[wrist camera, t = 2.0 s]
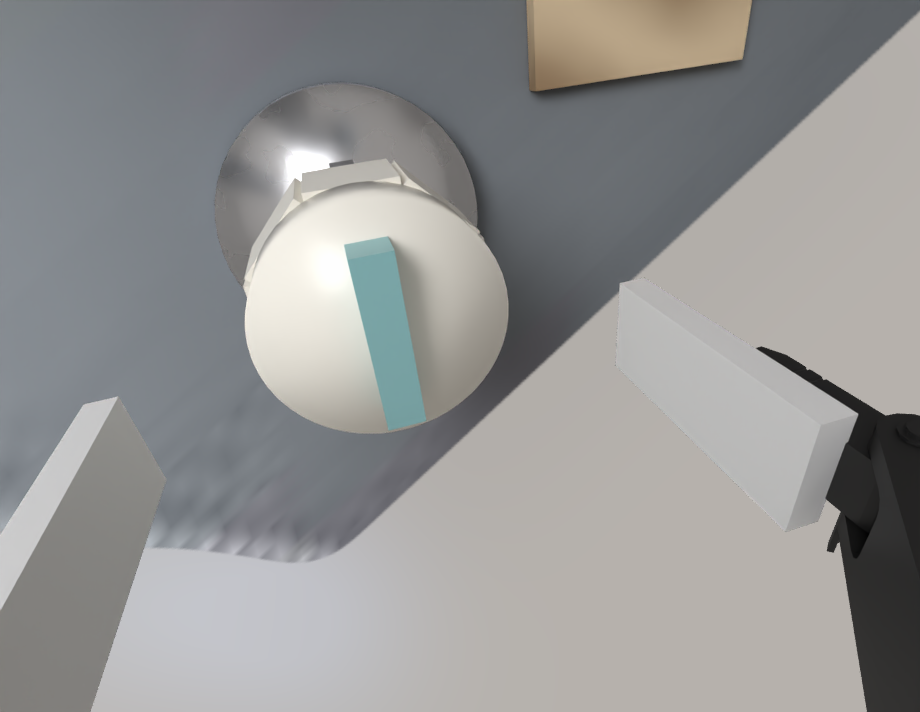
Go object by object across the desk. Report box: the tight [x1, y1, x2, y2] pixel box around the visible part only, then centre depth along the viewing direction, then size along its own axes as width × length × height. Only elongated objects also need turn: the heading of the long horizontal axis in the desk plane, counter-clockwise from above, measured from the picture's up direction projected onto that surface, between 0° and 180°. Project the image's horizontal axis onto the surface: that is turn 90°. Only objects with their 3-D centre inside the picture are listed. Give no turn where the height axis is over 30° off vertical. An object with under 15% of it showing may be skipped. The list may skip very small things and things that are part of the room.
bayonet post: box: [215, 82, 477, 289], centre depth 21 cm, size 12×12×10 cm
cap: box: [243, 158, 509, 434], centre depth 17 cm, size 8×8×6 cm
